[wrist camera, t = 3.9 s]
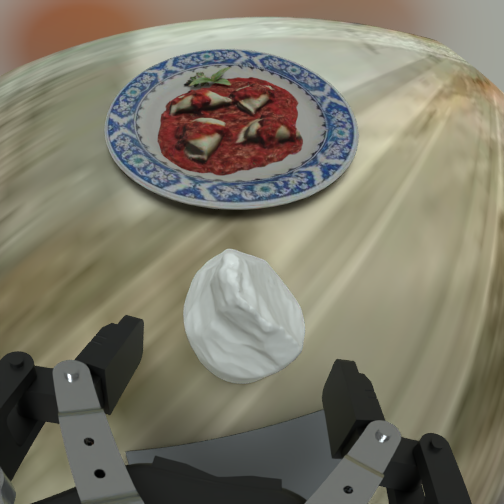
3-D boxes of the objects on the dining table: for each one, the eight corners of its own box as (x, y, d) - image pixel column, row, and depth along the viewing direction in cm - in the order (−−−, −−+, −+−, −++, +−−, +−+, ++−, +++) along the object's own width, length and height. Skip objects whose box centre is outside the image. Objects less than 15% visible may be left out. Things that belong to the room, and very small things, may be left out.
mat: (329, 406, 19) (331, 406, 19) (356, 502, 16) (358, 503, 16) (126, 451, 17) (125, 451, 16) (160, 549, 13) (159, 550, 13)
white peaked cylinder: (373, 293, 10) (247, 407, 8) (295, 351, 21) (232, 403, 19) (260, 177, 12) (133, 256, 10) (240, 287, 23) (176, 333, 21)
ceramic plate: (389, 211, 28) (403, 192, 25) (97, 241, 24) (84, 221, 21) (310, 63, 39) (314, 46, 36) (123, 72, 35) (120, 54, 32)
